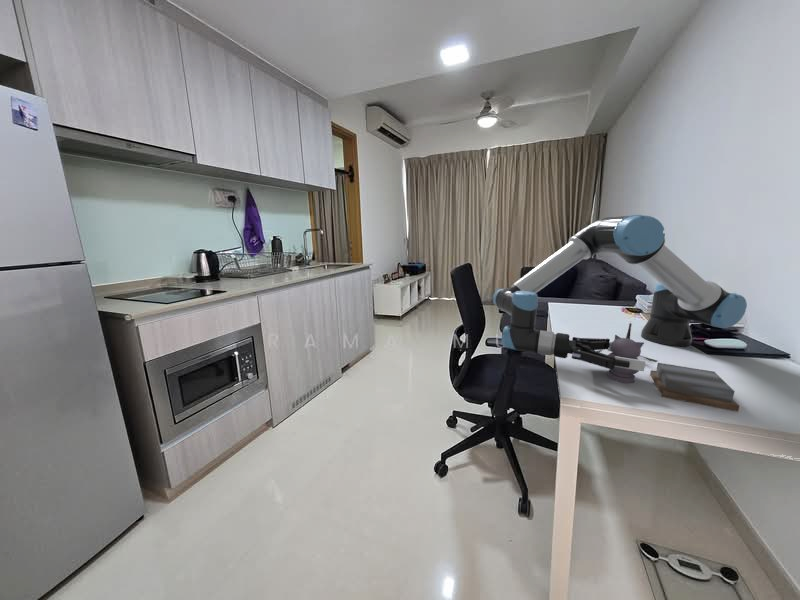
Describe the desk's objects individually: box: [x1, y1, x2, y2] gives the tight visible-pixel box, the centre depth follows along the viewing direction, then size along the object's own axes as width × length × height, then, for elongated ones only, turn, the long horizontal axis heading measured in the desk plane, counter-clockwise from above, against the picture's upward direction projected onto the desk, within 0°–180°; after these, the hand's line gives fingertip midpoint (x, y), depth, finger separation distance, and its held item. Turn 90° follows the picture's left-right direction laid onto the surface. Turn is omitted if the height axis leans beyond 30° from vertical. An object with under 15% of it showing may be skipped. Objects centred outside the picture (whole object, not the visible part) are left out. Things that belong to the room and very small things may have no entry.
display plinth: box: [649, 362, 740, 413], centre depth 81 cm, size 14×14×4 cm
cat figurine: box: [607, 334, 645, 384], centre depth 87 cm, size 9×8×12 cm
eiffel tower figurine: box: [596, 322, 658, 363], centre depth 103 cm, size 15×10×13 cm
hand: (639, 357), depth 85 cm, fingers open, 12 cm apart
